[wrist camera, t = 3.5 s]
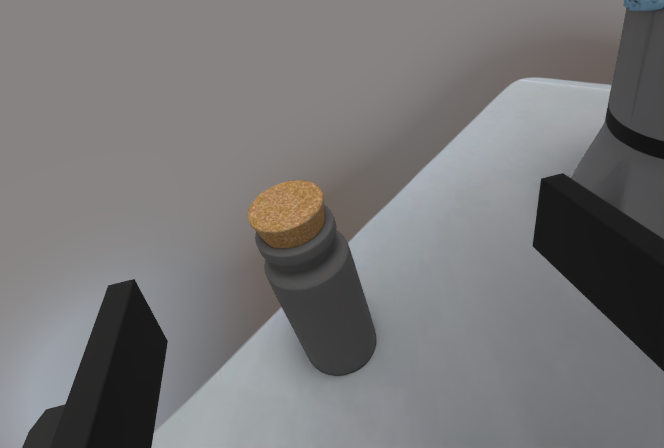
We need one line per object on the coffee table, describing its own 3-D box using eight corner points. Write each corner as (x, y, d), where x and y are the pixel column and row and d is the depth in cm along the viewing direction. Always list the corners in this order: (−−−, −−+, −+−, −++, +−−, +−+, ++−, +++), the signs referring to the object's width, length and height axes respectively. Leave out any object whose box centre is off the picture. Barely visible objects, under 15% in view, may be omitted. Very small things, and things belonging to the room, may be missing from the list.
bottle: (336, 303, 38) (284, 166, 29) (391, 332, 35) (351, 186, 25) (293, 353, 36) (218, 220, 26) (347, 390, 32) (284, 251, 23)
